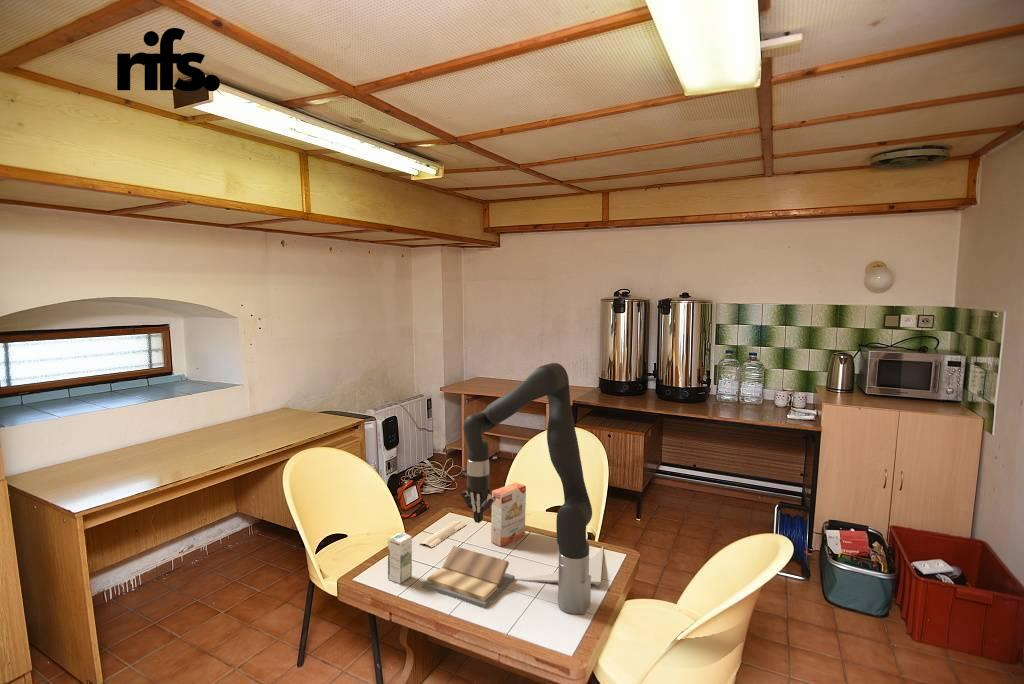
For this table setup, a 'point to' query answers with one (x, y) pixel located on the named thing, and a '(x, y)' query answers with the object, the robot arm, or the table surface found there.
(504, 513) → the cracker box
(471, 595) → the oak plank
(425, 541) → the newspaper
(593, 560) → the corner molding
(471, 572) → the walnut plank
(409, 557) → the syrup box
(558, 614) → the table surface
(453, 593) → the board
